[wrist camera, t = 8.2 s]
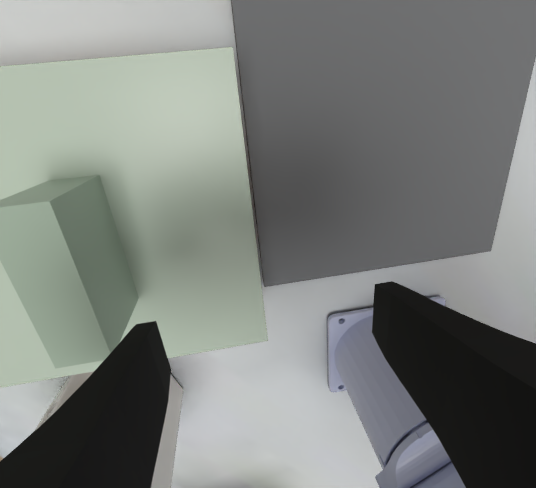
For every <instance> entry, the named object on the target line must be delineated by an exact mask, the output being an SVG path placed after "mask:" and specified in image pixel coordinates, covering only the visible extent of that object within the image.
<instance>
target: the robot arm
mask: <svg viewBox="0 0 536 488" xmlns="http://www.w3.org/2000/svg"><path fill="white" fill-rule="evenodd" d="M445 304H446V301H445V299H444V298H443V297H441V296H437V297H431V298H427V297H425V296H423V295H421V294H419V293H417V292H415V291H412V290H410V289H408V288H406V287H404V286H402V285H399V284H397V283H395V282H386V283H380V284H375V291H374V307H372V308H366V309H361V310H355V311H349V312H343V313H337V314H332V315H330V316H329V317H328V320H327V329H328V386H329V389H330V391H331V392H339V391H344V390H347V392H348V394H349V396H350V398H351V400H352V403H353V405H354V407H355V409H356V411H357V414H358V416H359V418H360V420H361V422H362V425H363V427H364V429H365V431H366V433H367V436H368V438H369V440H370V442H371V444H372V447H373V449H374V451H375V453H376V455H377V458H378V460H379V462H380V464H381V466H382V469H383V470H382V471H381V472H380V473H379V474H377V475H376V477H375V478H376V480H377V483H378V485H379V487H380V488H536V344H535V343H532V342H529V341H527V340H524V339H521V338H518V337H516V336H513V335H510V334H508V333H505V332H503V331H500V330H498V329H495V328H493V327H490V326H488V325H486V324H483V323H481V322H479V321H476V320H474V319H472V318H469V317H467V316H465V315H463V314H461V313H458V312H456V311H454V310H452V309H450V308H448V307H446V306H445ZM341 318H343V319H342V320H340V321H339V319H341ZM170 375H171V368H170V365H169V361H168V358H167V355H166V352H165V348H164V345H163V342H162V338H161V335H160V332H159V329H158V325H157V322H156V321H152V322H146V323H140V324H136V325H135V326H134V327H133V328H132V329H131V330H130V331H129V333H128V334H127V335H126V336H125V337H124V338H123V339H122V341H121V342H120V343H119V344H118V345H117V346H116V347H115V349H114V350H113V351H112V352H111V353H110V354H109V355H108V357H107V358H106V359H105V360H104V361H103V362H102V363H101V364H100V366H99V367H98V368H97V369H96V370H95V371H94V372H93V373H92V374H91V376H90V377H89V378H88V379H87V380H86V381H85V382H84V383H83V384H82V385H81V386H80V387H79V388H78V389H77V390H76V391H75V392H74V393H73V394H72V395H71V396H70V397H69V398H68V399H67V400H66V401H65V402H64V403H63V404H62V406H61V407H60V408H59V409H58V410H57V411H56V412H55V413H53V414H52V415H51V416H50V417H49V418H48V419H47V420H46V421H45V422H44V423H43V424H42V425H41V426H40V427H39V428H38V429H37V430H35V431H34V432H33V433H32V434H31V435H30V436H29V437H28V438H27V439H25V440H24V441H23V442H22V443H21V444H20V445H19V446H18V447H17V448H15V449H14V450H13V451H12V452H11V453H10V454H9V455H7V456H6V457H5V458H4V459H3V460H1V461H0V488H151V484H152V479H153V474H154V469H155V465H156V460H157V455H158V450H159V445H160V440H161V435H162V431H163V426H164V421H165V416H166V411H167V405H168V399H169V388H170Z"/></svg>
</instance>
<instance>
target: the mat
mask: <svg viewBox="0 0 536 488" xmlns="http://www.w3.org/2000/svg"><path fill="white" fill-rule="evenodd" d="M231 4H232V13H233V21H234V30H235V39H236V47H237V56H238V65H239V73H240V82H241V91H242V100H243V108H244V117H245V126H246V134H247V143H248V152H249V160H250V169H251V178H252V186H253V195H254V204H255V212H256V221H257V230H258V238H259V247H260V256H261V264H262V273H263V282H264V286H265V287H267V286H274V285H280V284H286V283H292V282H299V281H305V280H311V279H318V278H324V277H330V276H337V275H343V274H349V273H356V272H362V271H368V270H375V269H381V268H387V267H393V266H400V265H406V264H412V263H419V262H425V261H431V260H438V259H444V258H450V257H457V256H463V255H469V254H476V253H482V252H488V251H491V248H492V244H493V240H494V235H495V231H496V226H497V222H498V218H499V213H500V209H501V205H502V200H503V196H504V192H505V187H506V183H507V179H508V174H509V170H510V166H511V161H512V157H513V153H514V148H515V144H516V140H517V135H518V131H519V127H520V122H521V118H522V114H523V109H524V105H525V101H526V96H527V92H528V88H529V83H530V79H531V75H532V70H533V66H534V62H535V57H536V0H231Z"/></svg>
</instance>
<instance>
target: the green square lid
mask: <svg viewBox="0 0 536 488" xmlns="http://www.w3.org/2000/svg"><path fill="white" fill-rule="evenodd" d="M152 321H156V322H157V325H158V329H159V332H160V335H161V338H162V342H163V345H164V348H165V352H166V355H167V358H172V357H178V356H184V355H190V354H195V353H201V352H207V351H212V350H218V349H224V348H229V347H235V346H241V345H246V344H252V343H258V342H264V341H268V336H267V328H266V320H265V311H264V303H263V295H262V286H261V278H260V270H259V261H258V253H257V245H256V236H255V228H254V220H253V211H252V203H251V195H250V186H249V178H248V170H247V161H246V153H245V144H244V136H243V128H242V119H241V111H240V103H239V94H238V86H237V78H236V69H235V61H234V53H233V47H227V48H215V49H203V50H191V51H179V52H167V53H155V54H143V55H131V56H119V57H107V58H95V59H83V60H71V61H59V62H47V63H35V64H23V65H11V66H0V388H2V387H8V386H13V385H19V384H25V383H30V382H36V381H42V380H47V379H53V378H59V377H64V376H70V375H76V374H81V373H87V372H93V371H95V370H96V369H97V368H98V367H99V366H100V364H101V363H102V362H103V361H104V360H105V359H106V358H107V357H108V355H109V354H110V353H111V352H112V351H113V350H114V349H115V347H116V346H117V345H118V344H119V343H120V342H121V341H122V339H123V338H124V337H125V336H126V335H127V334H128V333H129V331H130V330H131V329H132V328H133V327H134V326H135V325H136V324H140V323H146V322H152Z"/></svg>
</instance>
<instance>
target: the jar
mask: <svg viewBox="0 0 536 488" xmlns="http://www.w3.org/2000/svg"><path fill="white" fill-rule="evenodd" d="M93 372H94V371H93ZM93 372H87V373H81V374H76V375H70V376H69V377H68V379H67V380H66V382H65V383H64V385H63V386H62V388H61V389H60V391H59V392H58V394H57V395H56V397H55V399H54V401H53V402H52V403H51V405H50V406H49V408H48V409H47V411H46V413H45V414H44V416H43V418H42V419H41V421H40V423H39V424H38V426H37V428H36V429H35V430H37V429H38V428H39V427H40V426H41V425H42V424H43V423H44V422H45V421H46V420H47V419H48V418H49V417H50V416H51V415H52V414H53V413H55V412H56V411H57V410H58V409H59V408H60V407H61V406H62V404H63V403H64V402H65V401H66V400H67V399H68V398H69V397H70V396H71V395H72V394H73V393H74V392H75V391H76V390H77V389H78V388H79V387H80V386H81V385H82V384H83V383H84V382H85V381H86V380H87V379H88V378H89V377H90V376H91V374H92V373H93ZM182 398H183V389H182V388H181V386H180V385H179V384H178V383H177V381H176V380H175V379H174V378H173V376H172V375H170V388H169V399H168V405H167V411H166V416H165V421H164V426H163V431H162V435H161V440H160V445H159V450H158V455H157V460H156V465H155V469H154V474H153V479H152V484H151V488H171V482H172V475H173V467H174V459H175V451H176V444H177V436H178V428H179V421H180V413H181V405H182Z"/></svg>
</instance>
